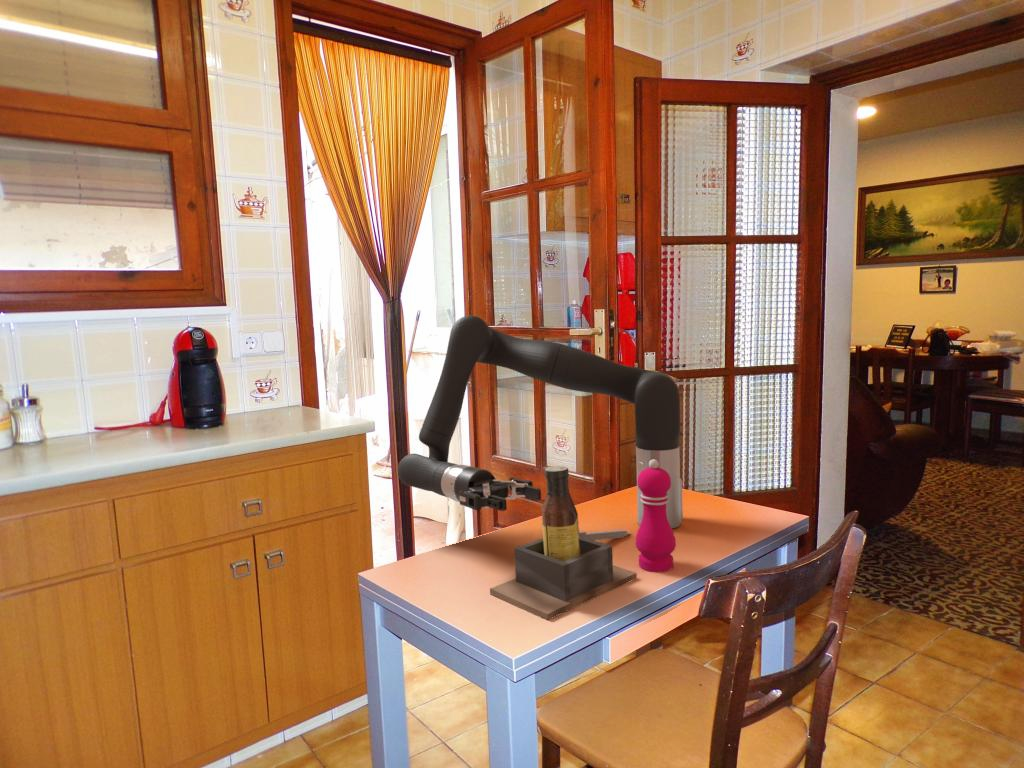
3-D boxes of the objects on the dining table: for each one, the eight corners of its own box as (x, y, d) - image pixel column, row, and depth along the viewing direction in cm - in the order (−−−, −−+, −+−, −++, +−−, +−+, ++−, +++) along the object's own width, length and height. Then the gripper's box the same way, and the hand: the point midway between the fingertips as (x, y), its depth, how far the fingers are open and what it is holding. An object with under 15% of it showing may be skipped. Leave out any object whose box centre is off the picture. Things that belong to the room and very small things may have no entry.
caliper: (560, 561, 129) (559, 530, 128) (556, 560, 130) (555, 528, 129) (630, 535, 142) (630, 506, 141) (626, 534, 143) (626, 505, 142)
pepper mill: (628, 562, 126) (625, 458, 124) (660, 555, 129) (658, 453, 127) (651, 576, 119) (648, 465, 117) (684, 568, 122) (682, 460, 120)
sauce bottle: (589, 581, 116) (585, 468, 114) (560, 591, 112) (556, 475, 110) (565, 570, 121) (560, 462, 119) (537, 579, 118) (532, 468, 116)
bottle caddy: (578, 558, 129) (577, 523, 129) (636, 578, 119) (635, 539, 118) (490, 594, 115) (488, 554, 114) (547, 620, 104) (545, 576, 104)
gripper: (437, 473, 130) (492, 488, 118) (494, 460, 139) (549, 472, 127) (440, 511, 131) (493, 529, 118) (496, 495, 140) (551, 511, 128)
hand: (522, 500), depth 123 cm, fingers open, 8 cm apart
